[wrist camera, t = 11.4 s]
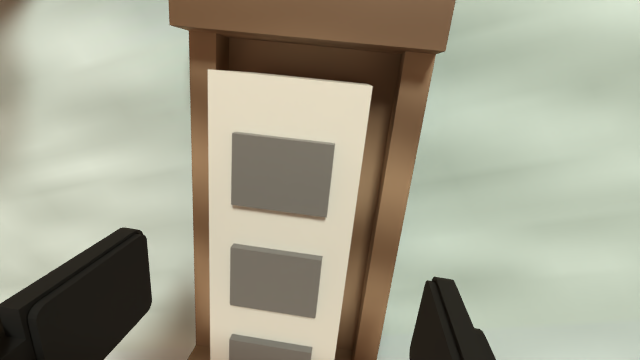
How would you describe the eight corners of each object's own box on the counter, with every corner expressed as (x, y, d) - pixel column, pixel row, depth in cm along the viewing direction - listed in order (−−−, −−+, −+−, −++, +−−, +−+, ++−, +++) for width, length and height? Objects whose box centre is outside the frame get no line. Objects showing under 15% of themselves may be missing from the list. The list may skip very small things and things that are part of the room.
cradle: (211, -13, 15) (167, -42, 12) (434, 5, 15) (459, -19, 11) (212, 344, 22) (184, 396, 18) (366, 370, 21) (368, 430, 18)
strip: (262, 73, 16) (201, 68, 9) (367, 83, 15) (373, 86, 9) (252, 313, 20) (206, 416, 14) (334, 326, 19) (323, 438, 13)
